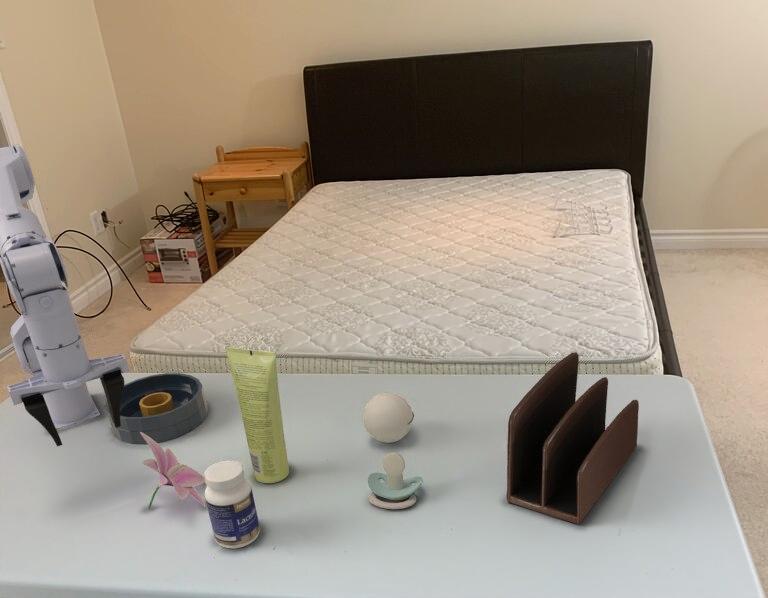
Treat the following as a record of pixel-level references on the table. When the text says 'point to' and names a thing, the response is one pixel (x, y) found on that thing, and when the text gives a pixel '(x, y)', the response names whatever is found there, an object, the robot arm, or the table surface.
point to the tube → (260, 411)
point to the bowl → (163, 425)
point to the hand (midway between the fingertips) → (88, 433)
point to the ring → (156, 404)
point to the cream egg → (388, 417)
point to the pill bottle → (231, 505)
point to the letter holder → (566, 444)
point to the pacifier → (393, 484)
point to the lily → (173, 472)
